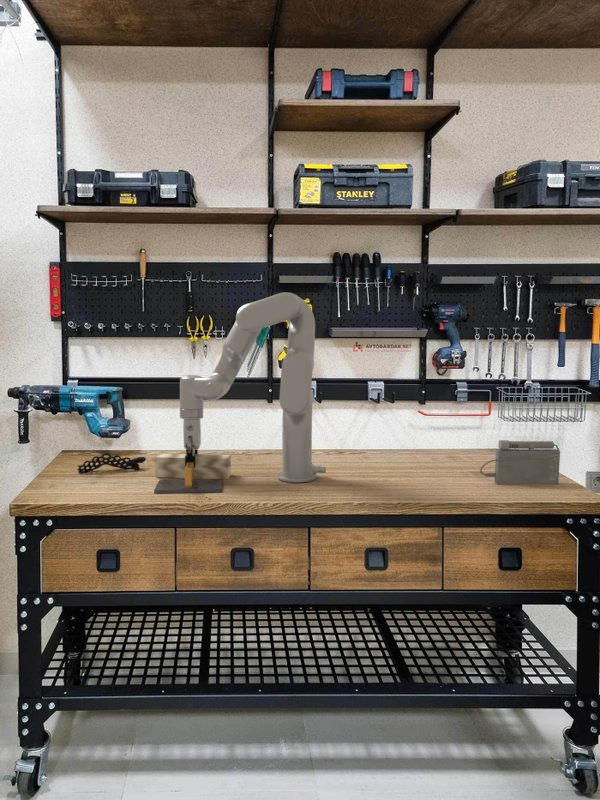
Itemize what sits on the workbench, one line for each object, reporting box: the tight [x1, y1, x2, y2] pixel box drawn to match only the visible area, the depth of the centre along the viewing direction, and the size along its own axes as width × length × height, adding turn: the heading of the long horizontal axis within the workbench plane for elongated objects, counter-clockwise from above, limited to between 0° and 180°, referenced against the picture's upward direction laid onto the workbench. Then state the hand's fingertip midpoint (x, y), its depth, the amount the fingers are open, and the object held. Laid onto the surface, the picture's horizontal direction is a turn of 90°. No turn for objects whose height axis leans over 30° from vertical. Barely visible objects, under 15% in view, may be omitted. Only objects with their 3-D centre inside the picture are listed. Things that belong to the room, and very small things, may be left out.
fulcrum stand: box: [153, 462, 224, 494], centre depth 210 cm, size 20×12×7 cm, turn 94°
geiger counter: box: [479, 439, 561, 485], centre depth 215 cm, size 14×6×25 cm
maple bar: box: [154, 453, 232, 480], centre depth 224 cm, size 24×6×7 cm, turn 86°
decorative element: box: [77, 452, 147, 474], centre depth 231 cm, size 22×5×6 cm, turn 106°
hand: (191, 464), depth 224 cm, fingers open, 9 cm apart
